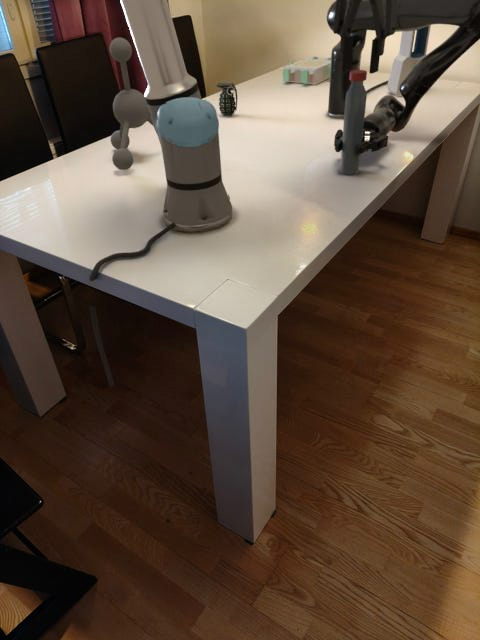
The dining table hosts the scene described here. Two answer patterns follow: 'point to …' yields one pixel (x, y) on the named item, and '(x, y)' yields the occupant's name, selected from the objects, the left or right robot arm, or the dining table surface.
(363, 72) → the cap
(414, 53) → the electronic device
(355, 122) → the bottle
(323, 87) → the dining table surface
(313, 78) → the decorative block
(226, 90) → the grenade
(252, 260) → the dining table surface
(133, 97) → the molecular model
